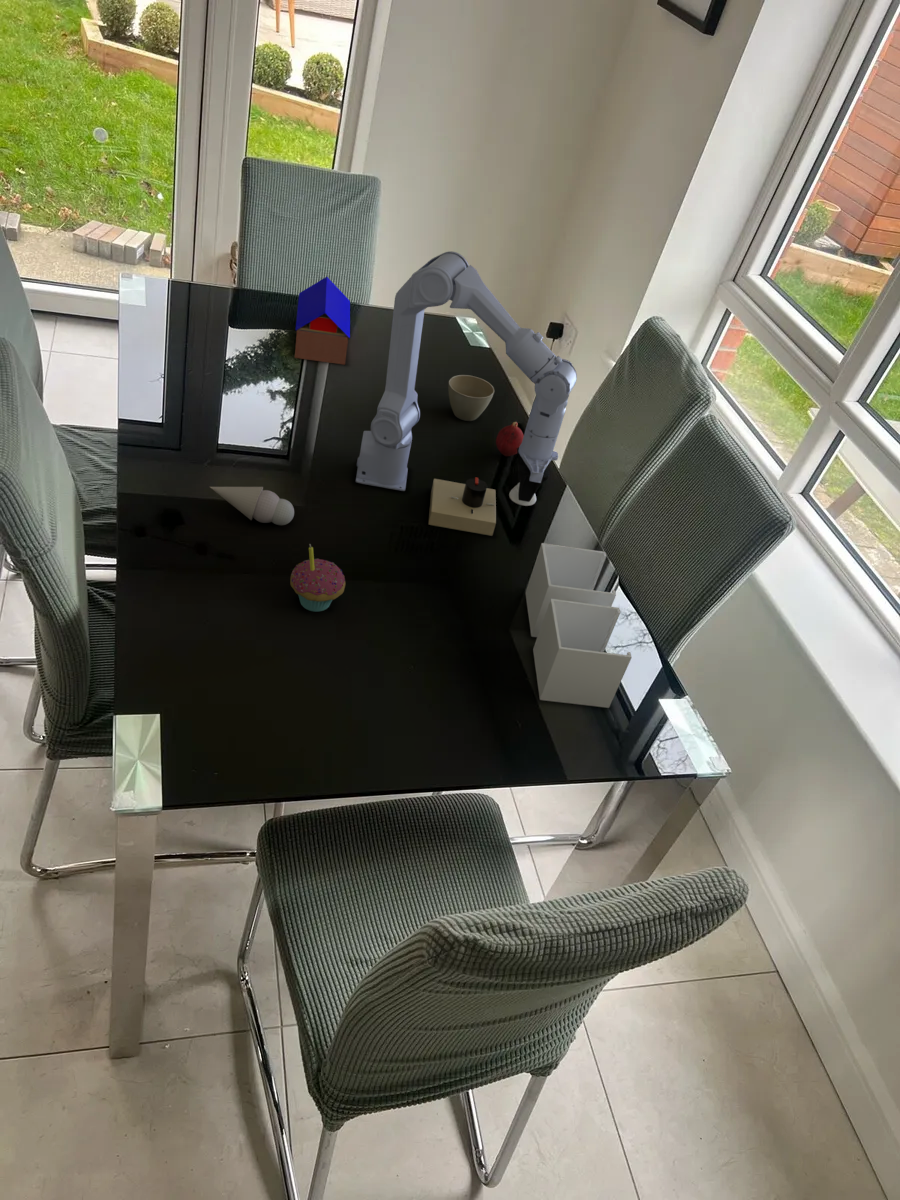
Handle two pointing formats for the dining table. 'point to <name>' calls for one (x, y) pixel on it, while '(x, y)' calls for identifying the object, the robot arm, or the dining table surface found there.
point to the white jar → (515, 497)
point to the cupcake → (317, 582)
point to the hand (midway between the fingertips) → (523, 493)
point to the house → (322, 323)
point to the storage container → (573, 628)
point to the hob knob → (474, 492)
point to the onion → (509, 439)
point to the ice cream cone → (258, 504)
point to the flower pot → (469, 396)
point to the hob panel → (461, 509)
